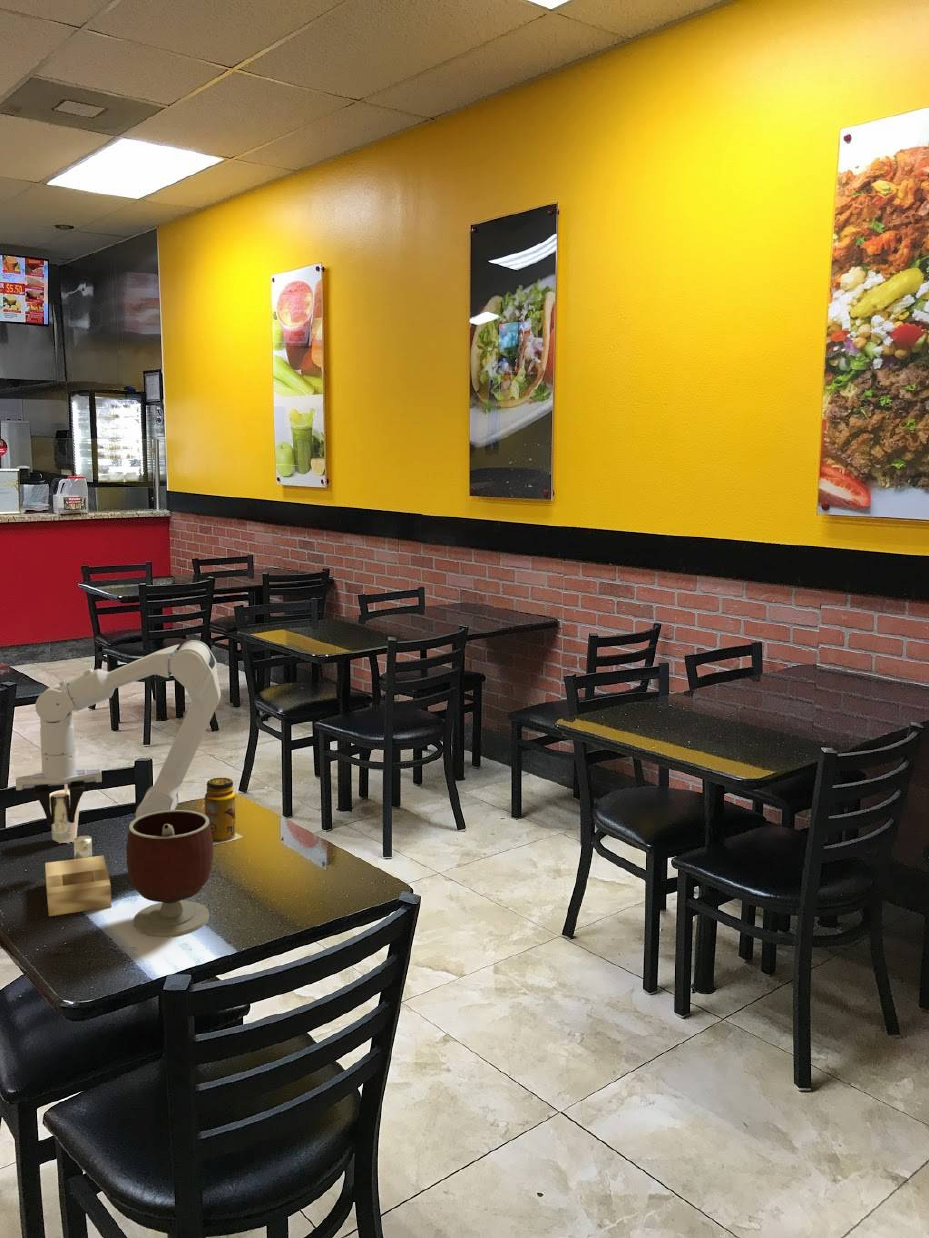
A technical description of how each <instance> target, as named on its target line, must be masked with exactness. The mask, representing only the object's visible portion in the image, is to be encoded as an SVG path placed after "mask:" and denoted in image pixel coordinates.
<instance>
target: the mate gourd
mask: <svg viewBox="0 0 929 1238" xmlns="http://www.w3.org/2000/svg"><path fill="white" fill-rule="evenodd" d="M128 827H129V829H128V834H127V839H126V840H127V841H126V850H125V851H126V867H127V873H128V877H129V879H130V880H129V881H130V884H131V885H132V887H133V888H134V889H135V890H136V891H137V892H138V894H139V895H141V897H142V898H143V899H145V900H148V901H151V902H157V903H155V904H151V905H149V906H146V907H145V908H142V909H141V910H139V911H138V912H137V913H136V914H135V915H134V917H133V927H135V928H136V929H135V928H134V929H135V930H136V931H137V930H138V931H139V932H138V931H137V932H138V933H140V934H142V935H145V936H150V937H154V936H155V937H156V936H158V938H170V937H169V936H172V937H178V936H183V935H187V934H190V933H193V932H195V931H197V930H199V929H201V928H202V927H204V926H205V925H207V923H208V921H209V919H210V911H209V909H208V907H206V906H205V905H203V904H201V903H199V902H195V901H190V900H187V899H189V898H192V897H194V896H195V895H197V894H198V893H200V891H201V890H202V888H203V887H204V886H205V884H207V881H208V880H209V879H210V876H211V871H212V866H213V861H214V860H213V859H214V845H213V839H212V833H211V828H210V824H209V818H208V817H207V816H206V815H205V813H201V812H199V811H193V810H188V809H187V810H186V809H185V810H184V809H175V810H167V811H159V812H154V813H149V814H146V815H143V816H140V817H138V818H136V817H135V818H134V819H133V820H132V821H131V822H130V824H129V826H128ZM185 899H186V900H185ZM156 938H157V937H156Z"/></svg>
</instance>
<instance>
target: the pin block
mask: <svg viewBox="0 0 929 1238" xmlns="http://www.w3.org/2000/svg"><path fill="white" fill-rule="evenodd" d="M105 859H106V858H105V855H97V856H92V857H87V858H80V859H75V858H72V859H66V860H57V861H51V862H49V861H48V862H45V863H44V865H45V867H44V868H45V869H44V870H45V888H46V898H47V900H46V901H47V908H48V909H47V910H48V912H47V913H48V916H49V917H52V916H60V915H67V914H74V913H79V912H85V911H92V910H99V909H107V908H112V888H111V887H112V885H111V879H110V876H109V872H108V867H107V863H106V860H105ZM106 907H107V908H106Z"/></svg>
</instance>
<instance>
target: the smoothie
mask: <svg viewBox="0 0 929 1238" xmlns="http://www.w3.org/2000/svg"><path fill="white" fill-rule="evenodd" d="M63 788H64V789H60V790H56V791H53V792H51V793H50V797H51V796H52V795H54V794H59V793H66V794H69V804H70V790H69V787H68V784H64V787H63ZM82 798H83V797H82V796H81V798H80V800H79V803H78V806H77V809H76V813H75V819H74V823H70V831H71V837H70V838H69V839H67V840H63V841H56V843H57V842H58V844H61V843H67V844H71V843H70V842H72V843H74V839H75V838H76V837H78V827H79V815H80V803H81V799H82ZM50 808H51V798H50Z"/></svg>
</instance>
